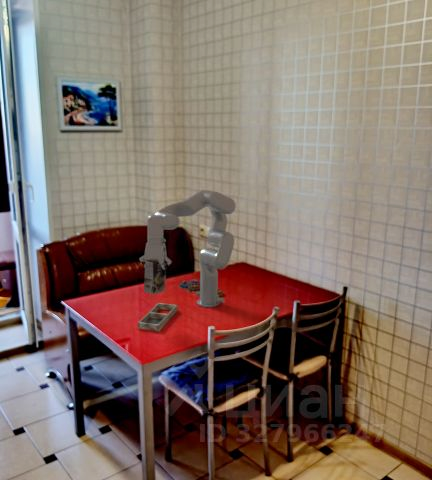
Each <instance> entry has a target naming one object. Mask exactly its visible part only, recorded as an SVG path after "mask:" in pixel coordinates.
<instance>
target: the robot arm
mask: <svg viewBox="0 0 432 480" xmlns="http://www.w3.org/2000/svg"><path fill="white" fill-rule="evenodd" d="M236 206H237V204H236V202H235V200H234V199H233V198H231V197H229V196H227V195H225V194H223V193H220V192H218V191H215V190H209V189H208V190H207V189H201V190H199V191H197V192H196V193H194V194H193V195H192V196H190V197H188V198H186V199H185V200H183V201H182V200H181V201H177V202H176V203H171V204H169V205H167V206H164V207H163V208H161V209H160V210H158V211H156V213H154V214H150V215H148V216H147V242H146V243H145V249H144V255H142V256H141V257H139V258H138V259H139V261H140V263H141V265H142V266H143V267H144V268H145V261H146V260H148V261H157V262H159V264H160V265H161V267H162V270H161V277H164V276H165V275H166V276H167V268H168V267H169V266H170V265H171V264H172V260H171V259H170V258H168V256H167V246H166V242H167V240H166V239H165V237H164V230H171V231H172V230H175V229H177V228H178V227H179V225H180V217H182V218H184V217H190V216H193V215H195V214H197V213H198V212H200V211H202V210H203V209H205V208H208V209H209V211H210V213H211V217H212V218H211V222H210V227H209V229H208V233H207V237H206V243H207V244H208V245H209V246H211V247H204V248H202V249H201V250H200V252H199V254H198V261H199V267H200V268H199V269H200V276H199V277H200V280H199V281H200V295H199V298H198V300H197V301H196V303H197V305H198V306H200V307H203V308H215V307H217V306H219V305H220V304H223V303H225V299H224V297H220V296H219V295H217V289H218V283H219V282H218V281H219V280H218V279H219V278H218V276H219V272H218V270H224V269H225V268H227V267H228V265H229V263H230V259H231V256H232V253H233V249H234V246H235V236H234V235H233V234H232V232H230V231H226V230H227V226H228V217H227V215H230V214H233V213H234V212H235V210H236V208H237V207H236ZM212 247H214V248H218V249H214V248H212ZM164 260H166V261H167V262H166V261H164ZM165 262H166V264H165Z"/></svg>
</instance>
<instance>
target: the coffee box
mask: <svg viewBox="0 0 432 480" xmlns="http://www.w3.org/2000/svg"><path fill="white" fill-rule="evenodd" d="M144 261H145V260H144ZM164 261H166V260H164ZM167 263H168V262H167V261H166V262H165V264H167ZM161 270H162V267H161V265H160V264H159V262H157V261H148V260H146V261H145V267H144V279H143V280H144V281H143V282H144V283H143V284H144V285H143V292H144V293H146V294H150V295H153V296H154V295H157V294H159V293H162V292H166V282H167V281H166V279H167V278H166V277H167V274H166V275H165V276H164V277H161Z"/></svg>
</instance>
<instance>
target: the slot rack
mask: <svg viewBox="0 0 432 480" xmlns="http://www.w3.org/2000/svg"><path fill="white" fill-rule="evenodd" d="M178 307H179V306H178V305H177V304H169V303H164V302H163V303H162V302H158V303H156V304H155V305H154V307H152V308H151V309H150V310H149V311H148V312H147V313H146V314H145V315H144V316H143V317H141V319H140V320H139V321H138V322H137V329H138V330H139V329H140V330H148V331H153V332H155V331H156V332H160V331H161V330H162V329H163V328H164V327H165V325H166V324H167V323H168V322H169V321H170V320H171V319H172V318H173V316H174V315H175V314H176V313H177V312H178V310H179V309H178ZM159 310H166V311H169V312H168V313H159V312H158V311H159Z"/></svg>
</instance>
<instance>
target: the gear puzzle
mask: <svg viewBox="0 0 432 480" xmlns="http://www.w3.org/2000/svg"><path fill="white" fill-rule="evenodd" d="M177 287H178V288H179V289H180V290H185V291H186V292H187V293H191V292H192V293H194V294H195V295H196V296H200V280H199V279H191V280H189V281H188V282H187V280H183V281H182V282H181V283H180V284H179V285H178V286H177ZM217 295H219V297H223V296H225V292H223V291H222V290H219V289H218V288H217Z"/></svg>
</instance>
